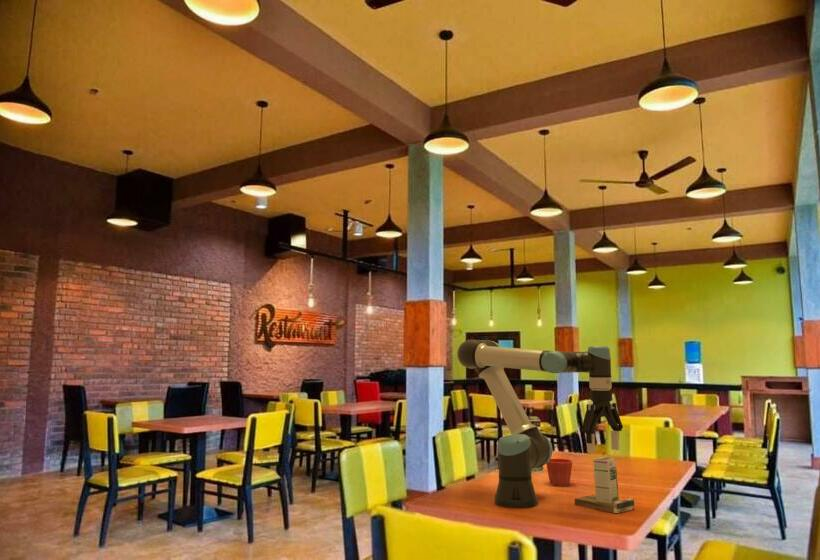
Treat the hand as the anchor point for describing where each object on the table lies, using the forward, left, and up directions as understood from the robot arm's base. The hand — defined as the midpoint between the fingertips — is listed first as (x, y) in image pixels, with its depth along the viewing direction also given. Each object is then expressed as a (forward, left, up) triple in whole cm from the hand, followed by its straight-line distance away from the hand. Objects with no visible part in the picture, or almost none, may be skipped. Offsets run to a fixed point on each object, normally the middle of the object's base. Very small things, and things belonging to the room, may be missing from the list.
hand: (603, 451), depth 204 cm
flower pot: (+19, +37, -19) cm, 45 cm away
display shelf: (0, +2, -19) cm, 19 cm away
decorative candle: (+33, +64, -19) cm, 74 cm away
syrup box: (0, 0, -17) cm, 17 cm away
